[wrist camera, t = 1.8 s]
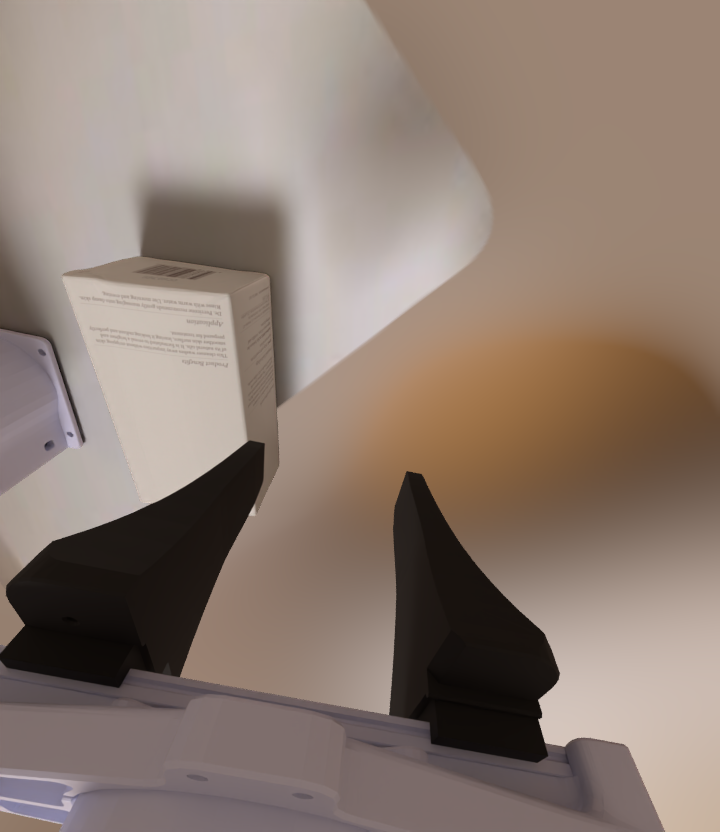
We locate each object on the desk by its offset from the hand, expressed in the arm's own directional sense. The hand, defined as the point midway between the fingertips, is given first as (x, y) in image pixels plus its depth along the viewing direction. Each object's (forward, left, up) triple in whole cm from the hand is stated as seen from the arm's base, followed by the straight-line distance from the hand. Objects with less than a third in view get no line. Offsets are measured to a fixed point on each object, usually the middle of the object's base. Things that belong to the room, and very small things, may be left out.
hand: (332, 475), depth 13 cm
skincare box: (+5, +10, -7) cm, 13 cm away
